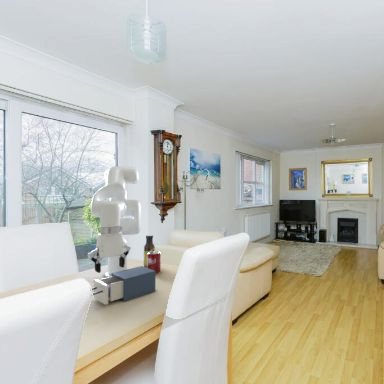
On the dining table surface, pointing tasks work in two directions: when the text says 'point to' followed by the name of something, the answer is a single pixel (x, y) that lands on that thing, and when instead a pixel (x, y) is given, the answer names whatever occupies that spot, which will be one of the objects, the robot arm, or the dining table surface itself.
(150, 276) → the blue-grey drawer housing
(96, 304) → the dining table surface
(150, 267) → the soda can
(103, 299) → the white drawer
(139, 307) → the dining table surface
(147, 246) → the sauce bottle
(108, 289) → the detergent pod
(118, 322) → the dining table surface
